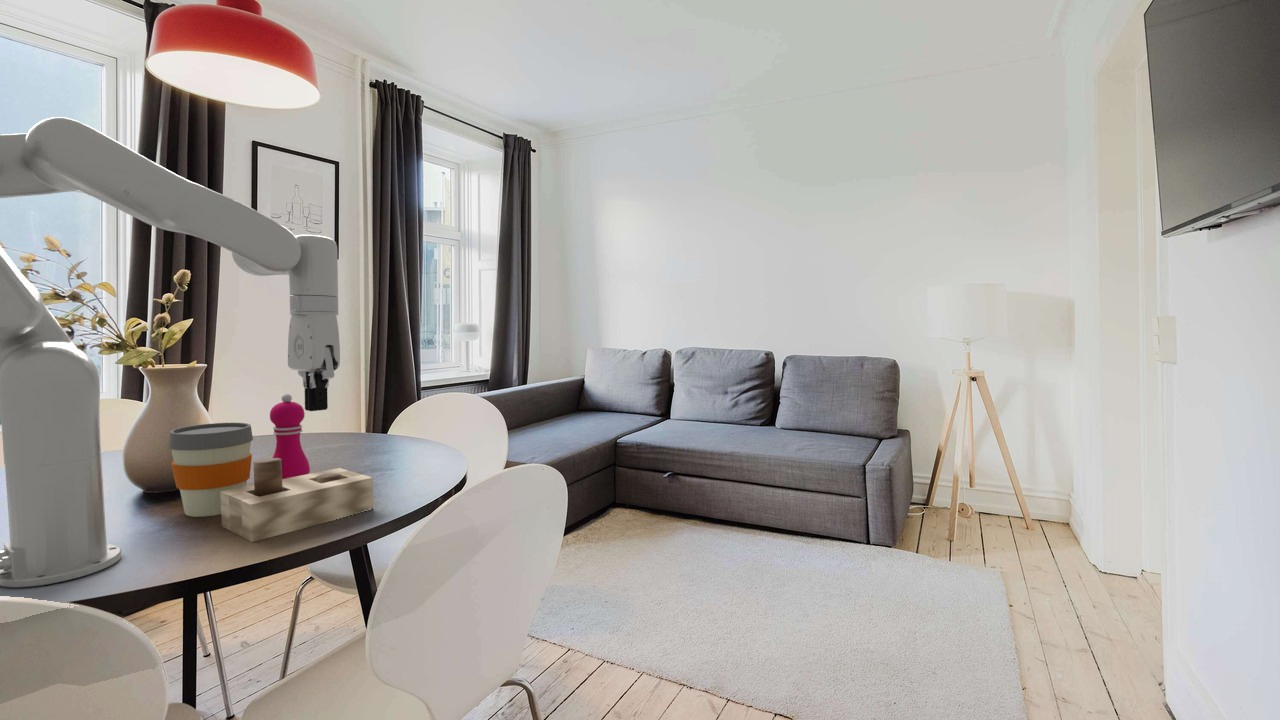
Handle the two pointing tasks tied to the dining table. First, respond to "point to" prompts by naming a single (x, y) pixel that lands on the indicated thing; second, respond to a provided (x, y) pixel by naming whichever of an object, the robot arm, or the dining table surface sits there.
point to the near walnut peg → (267, 476)
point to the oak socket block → (295, 504)
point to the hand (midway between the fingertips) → (316, 409)
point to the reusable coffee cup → (210, 463)
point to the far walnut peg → (328, 477)
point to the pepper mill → (289, 437)
